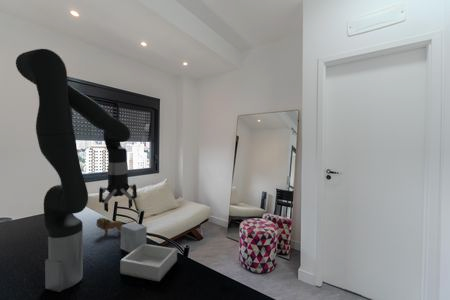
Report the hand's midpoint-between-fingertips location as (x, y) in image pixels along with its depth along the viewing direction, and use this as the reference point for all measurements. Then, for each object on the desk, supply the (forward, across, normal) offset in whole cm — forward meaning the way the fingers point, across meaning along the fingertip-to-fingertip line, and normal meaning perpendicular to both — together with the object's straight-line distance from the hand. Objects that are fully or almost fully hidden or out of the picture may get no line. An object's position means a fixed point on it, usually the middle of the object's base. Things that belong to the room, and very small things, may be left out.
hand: (118, 209), depth 87 cm
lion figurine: (+21, -3, +22) cm, 30 cm away
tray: (+19, +10, -17) cm, 27 cm away
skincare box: (+20, +6, +1) cm, 21 cm away
